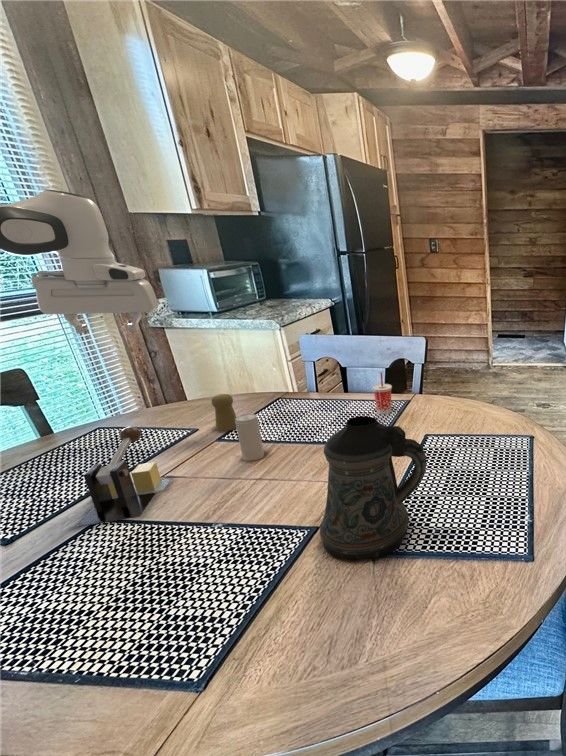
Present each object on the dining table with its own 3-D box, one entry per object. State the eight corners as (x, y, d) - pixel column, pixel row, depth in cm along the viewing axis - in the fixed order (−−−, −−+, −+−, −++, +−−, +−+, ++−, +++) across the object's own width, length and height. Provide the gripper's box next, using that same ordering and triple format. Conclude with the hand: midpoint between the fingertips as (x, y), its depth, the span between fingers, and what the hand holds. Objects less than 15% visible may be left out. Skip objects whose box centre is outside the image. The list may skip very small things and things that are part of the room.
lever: (126, 436, 96) (120, 424, 94) (145, 434, 97) (140, 422, 95) (97, 488, 83) (89, 475, 81) (119, 484, 84) (112, 472, 83)
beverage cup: (396, 408, 143) (393, 370, 139) (389, 415, 137) (386, 375, 133) (379, 407, 144) (375, 369, 139) (371, 414, 138) (368, 374, 133)
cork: (244, 428, 125) (237, 394, 122) (222, 435, 120) (214, 400, 117) (234, 423, 128) (227, 390, 125) (212, 430, 123) (204, 395, 120)
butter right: (137, 492, 92) (130, 473, 90) (144, 483, 95) (138, 464, 94) (155, 490, 93) (149, 470, 91) (161, 480, 96) (156, 461, 95)
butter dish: (95, 504, 89) (93, 500, 89) (106, 491, 93) (105, 487, 93) (164, 493, 93) (162, 490, 93) (171, 482, 98) (170, 478, 97)
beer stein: (313, 527, 84) (295, 414, 76) (403, 496, 95) (397, 395, 87) (334, 579, 72) (317, 451, 64) (436, 537, 83) (433, 423, 75)
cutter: (100, 504, 89) (84, 460, 85) (157, 495, 93) (145, 453, 89) (77, 531, 81) (59, 483, 78) (141, 520, 85) (126, 474, 81)
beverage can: (261, 452, 112) (254, 412, 108) (267, 459, 109) (259, 417, 105) (241, 458, 109) (232, 416, 105) (246, 465, 106) (237, 422, 102)
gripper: (18, 272, 86) (41, 337, 91) (141, 272, 93) (157, 332, 98) (37, 269, 92) (58, 331, 96) (152, 270, 99) (166, 327, 104)
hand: (109, 332), depth 97 cm, fingers open, 8 cm apart
